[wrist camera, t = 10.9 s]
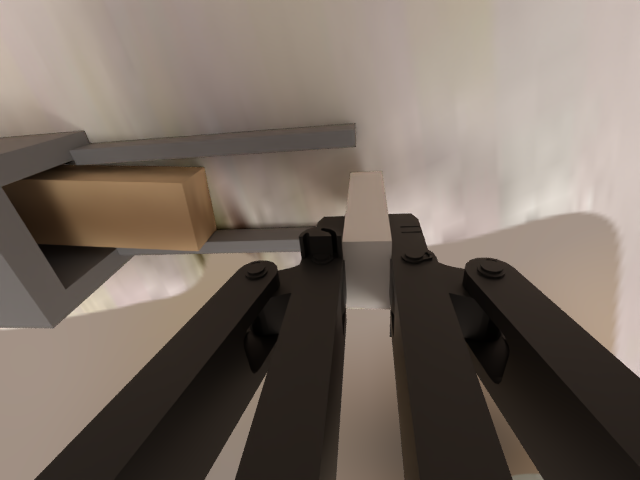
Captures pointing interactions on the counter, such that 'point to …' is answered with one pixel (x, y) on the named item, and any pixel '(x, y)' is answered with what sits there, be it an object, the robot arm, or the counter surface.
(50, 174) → the oak board
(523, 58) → the counter surface
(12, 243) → the grey u-channel bracket
